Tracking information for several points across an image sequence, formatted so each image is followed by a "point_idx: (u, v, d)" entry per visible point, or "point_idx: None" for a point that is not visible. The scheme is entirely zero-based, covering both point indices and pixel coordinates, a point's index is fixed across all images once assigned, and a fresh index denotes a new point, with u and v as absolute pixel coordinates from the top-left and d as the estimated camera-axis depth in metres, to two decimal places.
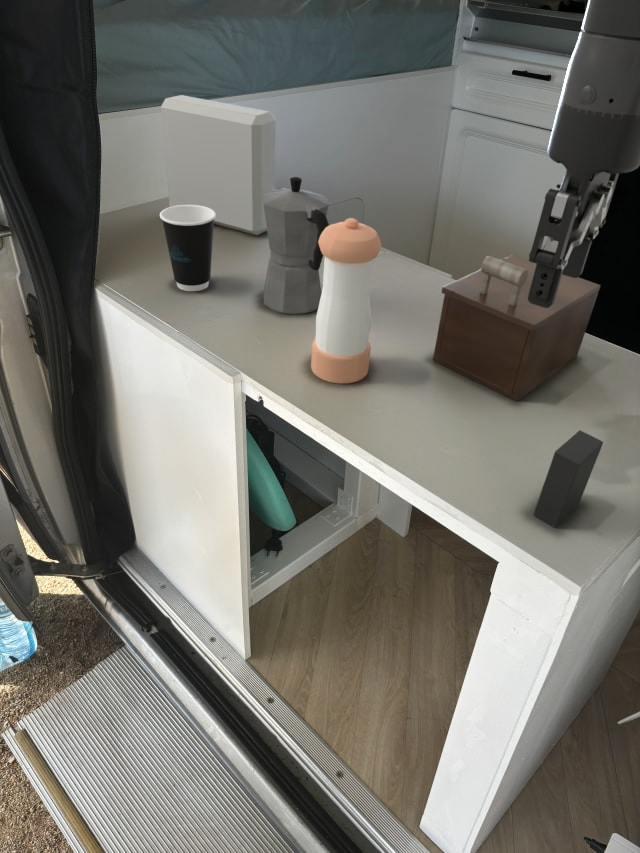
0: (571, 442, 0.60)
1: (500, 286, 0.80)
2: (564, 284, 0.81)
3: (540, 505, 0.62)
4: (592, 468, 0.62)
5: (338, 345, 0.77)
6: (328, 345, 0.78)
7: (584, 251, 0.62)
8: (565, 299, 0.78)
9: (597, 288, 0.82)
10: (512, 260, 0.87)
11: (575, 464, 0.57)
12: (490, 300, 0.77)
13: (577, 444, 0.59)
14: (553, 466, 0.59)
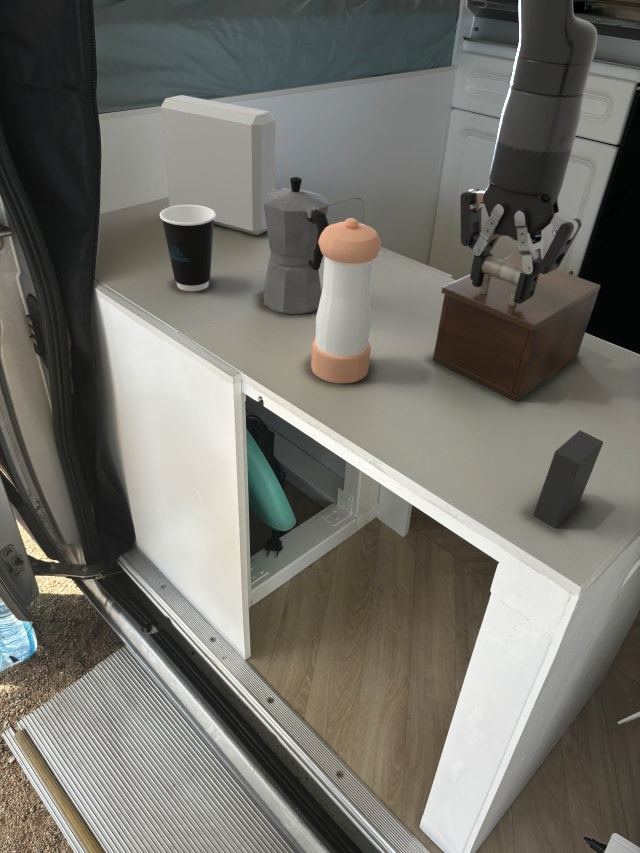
0: (571, 442, 0.60)
1: (500, 286, 0.80)
2: (564, 284, 0.81)
3: (540, 505, 0.62)
4: (592, 468, 0.62)
5: (338, 344, 0.77)
6: (328, 345, 0.78)
7: None
8: (565, 299, 0.78)
9: (597, 288, 0.82)
10: (512, 260, 0.87)
11: (575, 463, 0.57)
12: (490, 300, 0.77)
13: (577, 444, 0.59)
14: (553, 466, 0.59)
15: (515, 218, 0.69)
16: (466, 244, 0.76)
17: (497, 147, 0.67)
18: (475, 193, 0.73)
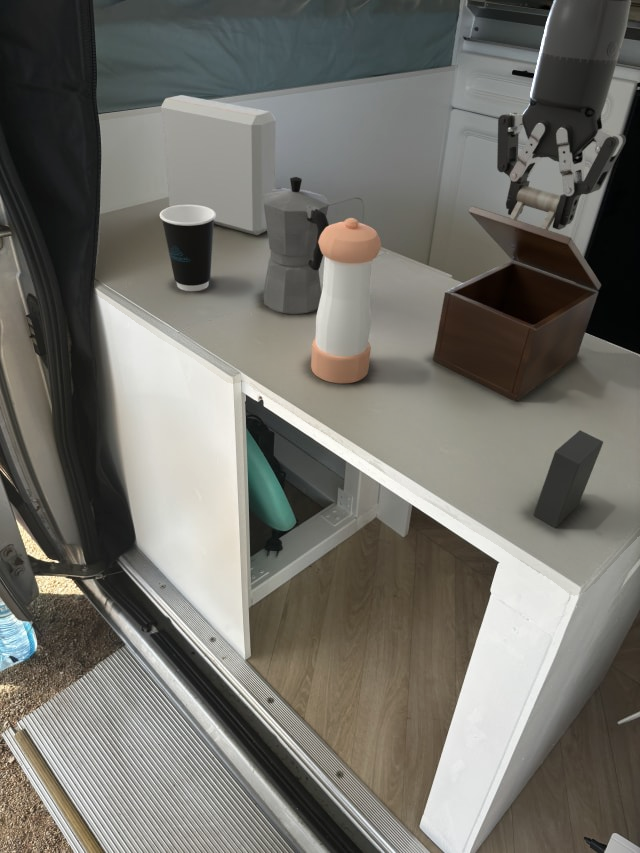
0: (571, 442, 0.60)
1: None
2: None
3: (540, 505, 0.62)
4: (592, 468, 0.62)
5: (338, 344, 0.77)
6: (328, 345, 0.78)
7: None
8: None
9: (599, 284, 0.81)
10: None
11: (575, 463, 0.57)
12: None
13: (577, 444, 0.59)
14: (553, 466, 0.59)
15: (557, 136, 0.68)
16: (503, 170, 0.74)
17: (540, 60, 0.65)
18: (513, 115, 0.72)
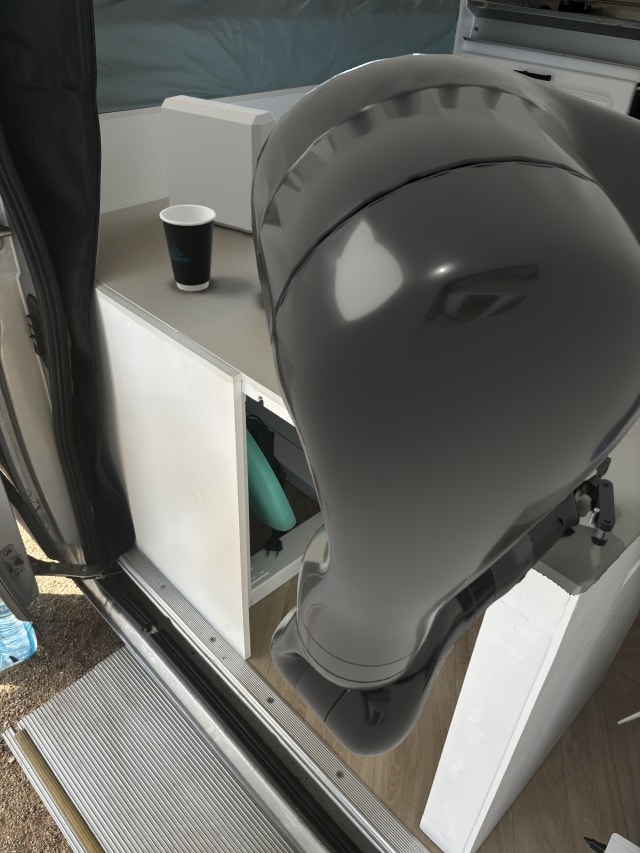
0: None
1: None
2: None
3: None
4: None
5: None
6: None
7: None
8: None
9: None
10: None
11: None
12: None
13: None
14: None
15: None
16: None
17: None
18: None
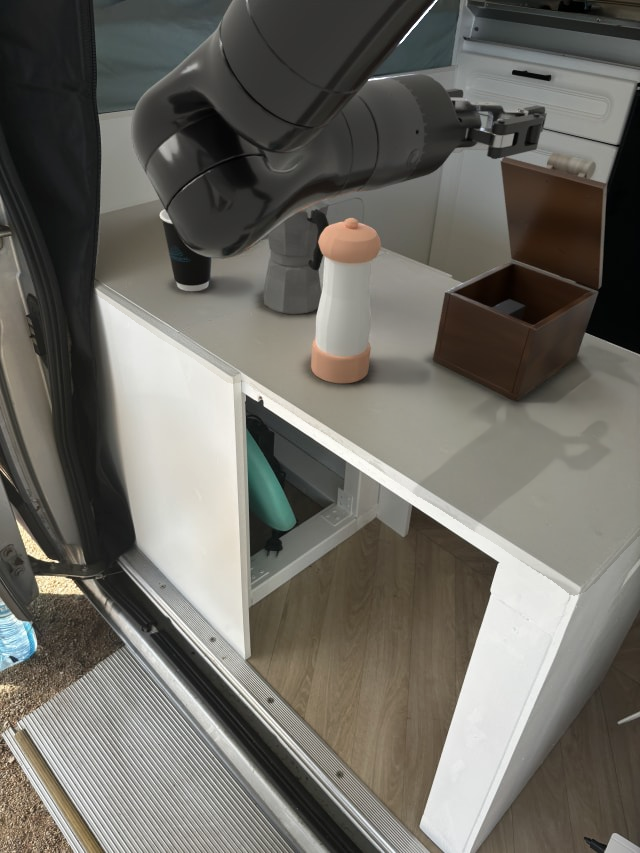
0: (501, 305, 0.80)
1: None
2: None
3: None
4: None
5: (338, 344, 0.77)
6: (328, 345, 0.78)
7: None
8: None
9: (600, 282, 0.81)
10: None
11: None
12: None
13: (505, 306, 0.80)
14: None
15: None
16: None
17: None
18: None
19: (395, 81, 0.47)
